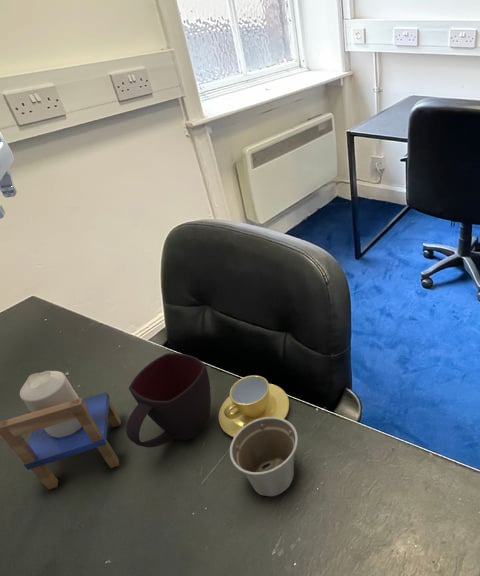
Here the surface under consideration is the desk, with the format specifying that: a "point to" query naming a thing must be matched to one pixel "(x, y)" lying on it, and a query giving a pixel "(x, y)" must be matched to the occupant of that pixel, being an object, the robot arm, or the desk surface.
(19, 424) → the chair
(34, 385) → the candle
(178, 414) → the mug
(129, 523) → the desk surface
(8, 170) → the robot arm
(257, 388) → the cup
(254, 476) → the flower pot
